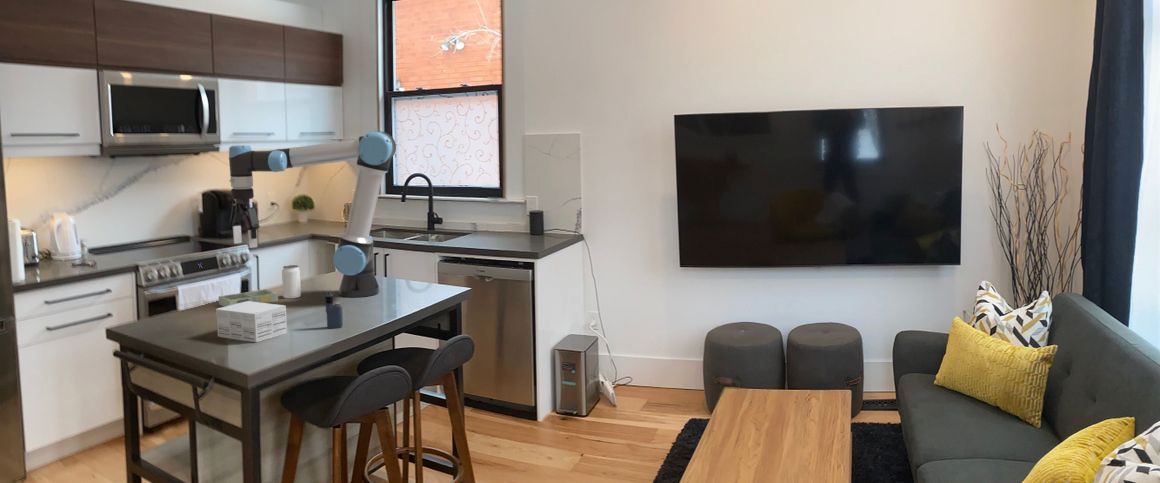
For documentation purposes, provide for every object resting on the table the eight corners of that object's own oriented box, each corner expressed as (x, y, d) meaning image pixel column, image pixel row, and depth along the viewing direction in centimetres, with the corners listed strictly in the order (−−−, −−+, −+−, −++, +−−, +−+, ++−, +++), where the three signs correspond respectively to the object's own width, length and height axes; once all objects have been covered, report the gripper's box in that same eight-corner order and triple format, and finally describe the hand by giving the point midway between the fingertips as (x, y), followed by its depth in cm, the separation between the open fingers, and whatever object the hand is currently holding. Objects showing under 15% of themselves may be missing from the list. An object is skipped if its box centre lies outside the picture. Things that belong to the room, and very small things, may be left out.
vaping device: (327, 326, 269) (325, 291, 267) (343, 326, 270) (342, 290, 268) (325, 328, 267) (324, 292, 265) (342, 328, 267) (340, 292, 265)
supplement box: (288, 333, 261) (286, 304, 260) (256, 343, 249) (254, 313, 248) (249, 327, 268) (248, 299, 267) (217, 337, 256) (215, 308, 255)
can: (303, 295, 316) (302, 265, 314) (296, 299, 309) (295, 268, 307) (288, 295, 316) (286, 264, 314) (280, 298, 310) (278, 267, 308)
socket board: (278, 301, 305) (278, 293, 305) (230, 309, 293) (229, 300, 292) (266, 297, 313) (266, 289, 312) (219, 304, 300) (218, 296, 299)
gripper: (218, 186, 302) (221, 242, 306) (246, 190, 285) (249, 250, 288) (238, 185, 308) (241, 240, 311) (267, 189, 290) (270, 248, 293)
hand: (245, 245), depth 300 cm, fingers open, 13 cm apart
